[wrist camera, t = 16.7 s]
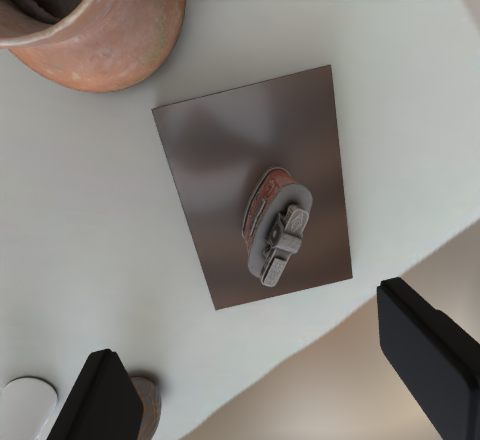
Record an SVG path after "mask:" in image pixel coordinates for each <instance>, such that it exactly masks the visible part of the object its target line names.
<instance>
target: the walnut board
mask: <svg viewBox="0 0 480 440" xmlns="http://www.w3.org/2000/svg"><path fill="white" fill-rule="evenodd" d="M152 113H153V116H154V119H155V123H156V126H157V129H158V132H159V135H160V138H161V141H162V144H163V148H164V151H165V154H166V157H167V160H168V163H169V166H170V169H171V173H172V176H173V179H174V182H175V185H176V188H177V191H178V194H179V198H180V201H181V204H182V207H183V210H184V213H185V216H186V219H187V223H188V226H189V229H190V232H191V235H192V238H193V241H194V245H195V248H196V251H197V254H198V257H199V260H200V263H201V266H202V270H203V273H204V276H205V279H206V282H207V285H208V288H209V291H210V295H211V298H212V301H213V304H214V307H215V310H219V309H223V308H228V307H232V306H236V305H240V304H245V303H249V302H253V301H258V300H262V299H266V298H270V297H275V296H279V295H283V294H288V293H292V292H296V291H300V290H305V289H309V288H313V287H317V286H322V285H326V284H330V283H335V282H339V281H343V280H347V279H352V278H353V276H352V266H351V256H350V246H349V237H348V227H347V217H346V207H345V197H344V188H343V178H342V168H341V158H340V148H339V139H338V129H337V119H336V109H335V99H334V90H333V80H332V70H331V65H327V66H323V67H319V68H315V69H311V70H307V71H303V72H299V73H295V74H291V75H287V76H283V77H279V78H275V79H271V80H267V81H263V82H259V83H255V84H251V85H247V86H243V87H239V88H235V89H231V90H227V91H223V92H219V93H215V94H210V95H206V96H202V97H198V98H194V99H190V100H186V101H182V102H178V103H174V104H170V105H166V106H162V107H158V108H154V109H152ZM272 166H279V167H282V168H284V169H285V170H287V171H288V173H289V174H290V176H291V178H292V179H294V180H295V181H296V182H297V183H300V184H302V185H303V186H305V187H306V188H307V189H308V190H309V191H310V192H311V195H312V198H313V201H312V206H311V210H310V213H309V218H308V221H307V223H306V226H305V228H304V231H303V236H302V244H301V246H300V248H299V250H298V252H297V253H294V254H293V255H291V256H290V258H289V259H288V261H287V263H286V265H285V267H284V269H283V271H282V274H281V276H280V278H279V280H278V282H277V283H276V285H275V286H272V287H270V286H266V285H263V284H262V282H261V278H258V277H256V276H254V275H253V274H252V273H251V272H250V270H249V268H248V263H247V259H248V251H247V246H246V241H245V239H244V238H243V235H242V231H241V227H242V222H243V217H244V213H245V210H246V207H247V204H248V201H249V198H250V196H251V194H252V192H253V190H254V188H255V186H256V184H257V183H258V181H259V180H260V178H261V177H262V175H263V174H264V172H265V171H266V170H267V169H268V168H270V167H272Z"/></svg>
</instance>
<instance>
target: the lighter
mask: <svg viewBox="0 0 480 440" xmlns="http://www.w3.org/2000/svg"><path fill="white" fill-rule="evenodd" d="M312 201H313V198H312V195H311V192H310V191H309V190H308V189H307V188H306V187H305V186H303V185H302V184H300V183H297V182H296V181H295V180H294V179H292V178H291V176H290V174H289V173H288V171H287V170H285V169H284V168H282V167H279V166H272V167H270V168H268V169H267V170H266V171H265V172H264V174H263V175H262V177H261V178H260V180H259V181H258V183H257V184H256V186H255V188H254V190H253V192H252V194H251V196H250V198H249V201H248V204H247V207H246V210H245V213H244V217H243V222H242V227H241V231H242V235H243V238H244V239H245V241H246V246H247V251H248V259H247V263H248V268H249V270H250V272H251V273H252V274H253V275H254V276H256V277H258V278H261V282H262V284H263V285H266V286H270V287H272V286H275V285H276V283H277V282H278V280H279V278H280V276H281V274H282V271H283V269H284V267H285V265H286V263H287V261H288V259H289V258H290V256H291V255H293V254H294V253H297V252H298V250H299V248H300V246H301V244H302V236H303V231H304V228H305V226H306V223H307V221H308V218H309V213H310V210H311V206H312Z"/></svg>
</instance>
